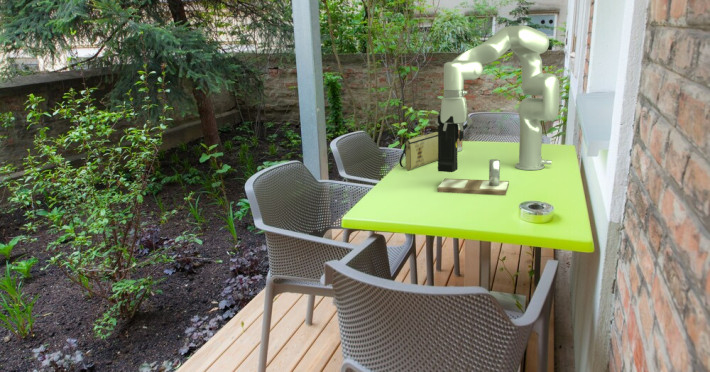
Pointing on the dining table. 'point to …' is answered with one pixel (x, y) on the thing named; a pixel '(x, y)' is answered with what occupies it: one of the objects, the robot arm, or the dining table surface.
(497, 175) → the pin
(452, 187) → the board
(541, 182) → the dining table surface
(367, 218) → the dining table surface
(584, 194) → the dining table surface
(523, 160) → the robot arm
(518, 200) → the dining table surface
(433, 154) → the clutch purse
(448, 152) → the portable radio
